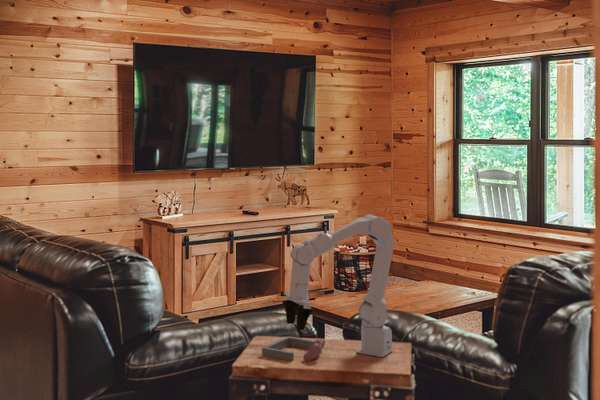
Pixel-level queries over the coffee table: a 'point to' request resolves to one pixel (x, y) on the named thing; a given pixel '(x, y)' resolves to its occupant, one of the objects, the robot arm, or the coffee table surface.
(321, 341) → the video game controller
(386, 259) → the robot arm
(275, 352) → the controller dock
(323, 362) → the coffee table surface
